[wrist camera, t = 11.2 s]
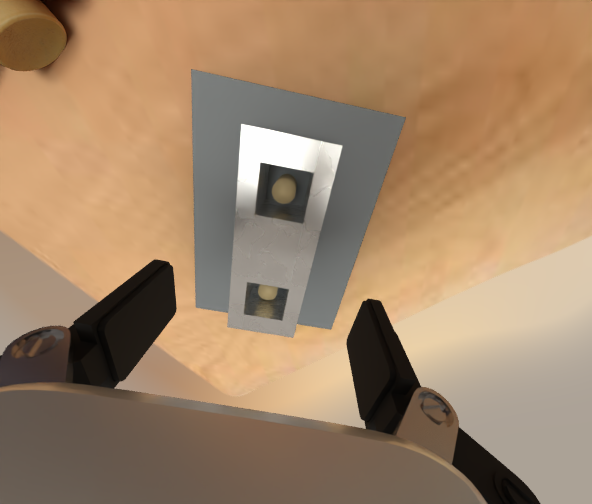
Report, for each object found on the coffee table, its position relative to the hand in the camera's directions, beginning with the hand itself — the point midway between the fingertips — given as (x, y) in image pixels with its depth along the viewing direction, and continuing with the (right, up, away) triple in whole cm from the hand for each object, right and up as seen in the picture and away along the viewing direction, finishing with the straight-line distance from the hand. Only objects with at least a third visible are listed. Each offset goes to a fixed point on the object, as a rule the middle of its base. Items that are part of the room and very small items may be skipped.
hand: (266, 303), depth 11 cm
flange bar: (0, +5, +10) cm, 11 cm away
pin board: (0, +5, +11) cm, 12 cm away
